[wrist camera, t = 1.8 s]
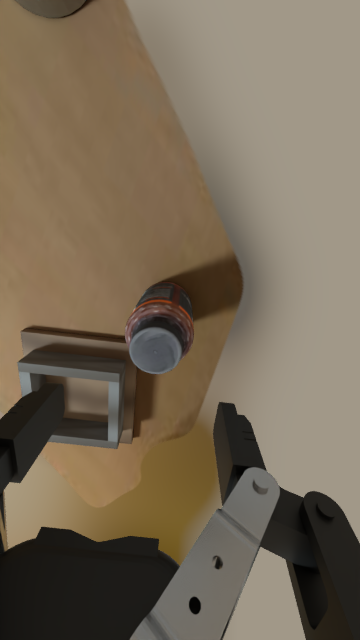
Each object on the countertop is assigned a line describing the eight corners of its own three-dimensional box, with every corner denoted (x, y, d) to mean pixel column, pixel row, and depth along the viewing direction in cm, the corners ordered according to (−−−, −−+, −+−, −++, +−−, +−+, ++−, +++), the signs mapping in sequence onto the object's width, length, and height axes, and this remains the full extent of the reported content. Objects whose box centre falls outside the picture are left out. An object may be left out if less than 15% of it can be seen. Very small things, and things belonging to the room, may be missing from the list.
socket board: (25, 328, 30) (2, 342, 26) (138, 341, 30) (131, 357, 26) (37, 428, 36) (20, 451, 32) (132, 438, 36) (126, 462, 32)
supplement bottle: (130, 300, 28) (97, 343, 18) (171, 270, 27) (161, 296, 16) (162, 338, 30) (149, 397, 19) (201, 311, 29) (211, 359, 18)
